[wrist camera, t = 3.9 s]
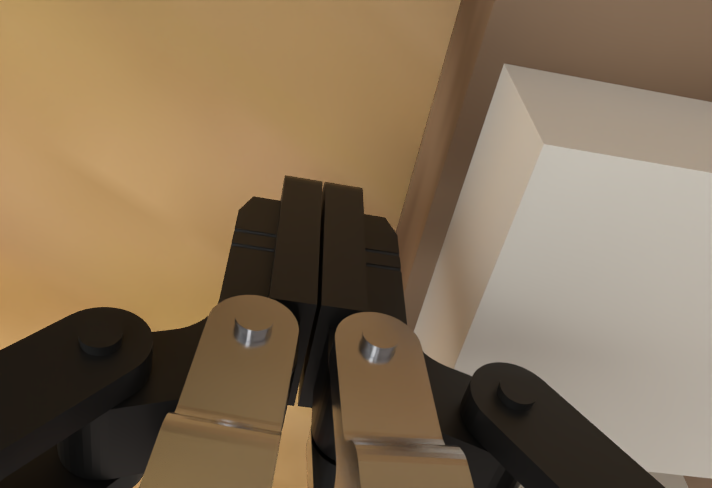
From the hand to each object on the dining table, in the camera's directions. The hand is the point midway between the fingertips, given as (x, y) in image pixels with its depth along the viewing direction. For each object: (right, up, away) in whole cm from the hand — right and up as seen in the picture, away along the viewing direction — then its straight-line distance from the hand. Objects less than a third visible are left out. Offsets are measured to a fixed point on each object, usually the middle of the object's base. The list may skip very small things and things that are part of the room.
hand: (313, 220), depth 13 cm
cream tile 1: (+6, 0, +1) cm, 6 cm away
